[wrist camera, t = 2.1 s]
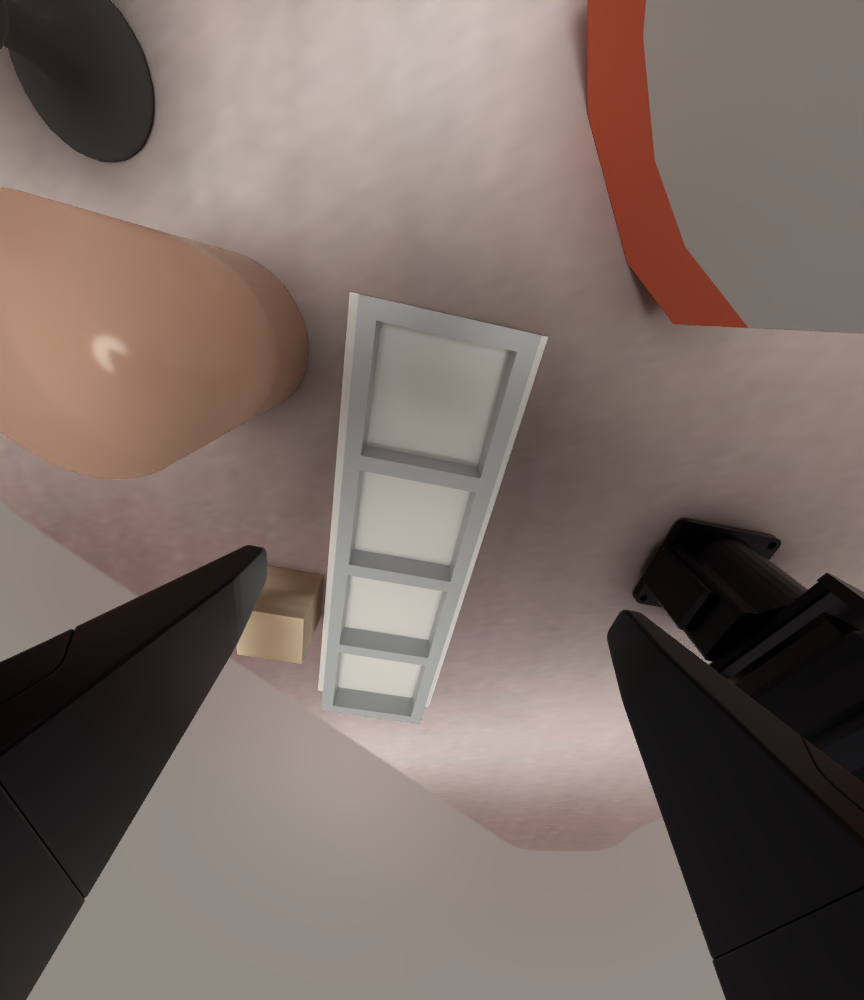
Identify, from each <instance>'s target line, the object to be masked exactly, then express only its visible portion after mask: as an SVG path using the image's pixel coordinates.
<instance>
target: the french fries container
mask: <svg viewBox="0 0 864 1000" xmlns="http://www.w3.org/2000/svg"><path fill="white" fill-rule="evenodd" d="M587 114H588V118H589V121H590V125H591V129H592V133H593V136H594V140H595V144H596V148H597V152H598V155H599V159H600V163H601V167H602V170H603V174H604V178H605V182H606V185H607V189H608V193H609V197H610V200H611V204H612V208H613V212H614V215H615V219H616V223H617V227H618V230H619V234H620V238H621V242H622V246H623V249H624V253H625V257H626V261H627V263H628V264H629V266H630V267H631V268H632V270H633V271H634V272H635V274H636V275H637V276H638V278H639V279H640V280H641V282H642V283H643V284H644V286H645V287H646V288H647V290H648V291H649V292H650V293H651V295H652V296H653V297H654V299H655V300H656V301H657V303H658V304H659V305H660V307H661V308H662V309H663V311H664V312H665V313H666V315H667V316H668V317H669V319H670V320H671V321H672V323H673V324H682V325H702V326H722V327H742V328H763V329H783V330H803V331H824V332H844V333H864V0H588V63H587Z"/></svg>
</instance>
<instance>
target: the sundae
mask: <svg viewBox="0 0 864 1000" xmlns="http://www.w3.org/2000/svg"><path fill="white" fill-rule="evenodd" d="M3 45H4V46H5V47H7V48H9V51H10V57H11V59H12V62H13V65H14V67H15V70H16V73H17V76H18V78H19V80H20V82H21V84H22V86H23V88H24V90H25V92H26V94H27V96H28V98H29V99H30V101H31V102H32V104H33V106H34V107H35V109H36V110H37V112H38V113H39V115H40V116H41V117H42V119H43V120H44V121H45V123H46V124H47V125H48V127H49V128H50V129H51V130H52V131H53V132H54V133H55V134H57V135H58V136H59V137H60V138H61V139H62V140H63V141H64V142H65V143H67V144H68V145H69V146H70V147H72V148H73V149H74V150H76V151H78V152H80V153H82V154H84V155H86V156H88V157H90V158H93V159H96V160H99V161H104V162H115V161H122V160H126V159H127V158H129V157H130V156H132V155H134V154H135V153H136V152H137V151H138V150H139V149H140V148H141V147H142V146H143V144H144V142H145V140H146V138H147V136H148V134H149V130H150V127H151V124H152V120H153V90H152V84H151V80H150V76H149V71H148V68H147V65H146V61H145V58H144V55H143V52H142V49H141V47H140V45H139V43H138V41H137V40H136V38H135V36H134V34H133V32H132V30H131V28H130V27H129V25H128V23H127V22H126V20H125V19H124V17H123V15H122V14H121V12H120V11H119V10H118V9H117V8H116V7H115V5H114V4H113V3H112V2H111V1H110V0H0V49H1V48H2V47H3Z"/></svg>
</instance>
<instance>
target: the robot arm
mask: <svg viewBox="0 0 864 1000" xmlns="http://www.w3.org/2000/svg"><path fill="white" fill-rule="evenodd" d="M686 526H687V527H686ZM684 527H686V528H685V529H684ZM780 545H781V541H780V540H779V539H778V538H776V537H775V536H773V535H768V534H763V533H758V532H753V531H748V530H743V529H738V528H732V527H727V526H722V525H717V524H712V523H707V522H702V521H696V520H691V519H682V520H680V521H678V522H677V523H676V525H675V526H674V528H673V530H672V531H671V533H670V534H669V536H668V538H667V539H666V541H665V542H664V544H663V546H662V547H661V549H660V551H659V552H658V554H657V555H656V557H655V559H654V560H653V562H652V564H651V565H650V567H649V568H648V570H647V572H646V573H645V575H644V577H643V578H642V580H641V581H640V583H639V585H638V586H637V588H636V590H635V591H634V593H633V597H634V598H635V600H636V601H637V602H638V603H641V604H647V605H653V606H659V607H663V608H664V610H665V611H666V612H667V614H668V615H669V616H670V618H671V619H672V620H673V622H674V623H675V624H676V626H677V627H678V628H679V629H680V630H683V631H684V632H685V633H686V635H687V636H688V637H689V639H690V640H691V641H692V643H693V644H694V645H695V647H696V648H697V649H698V651H699V652H700V653H701V654H702V656H703V657H704V658H705V660H708V661H713V662H711V663H710V664H709V665H708V664H707V663H705V662H704V661H703V660H701V659H700V658H699V657H697V656H696V655H695V654H694V653H692V652H691V651H690V650H688V649H687V648H686V647H684V646H683V645H682V644H681V643H679V642H678V641H677V640H675V639H674V638H673V637H671V636H670V635H669V634H668V633H666V632H665V631H664V630H662V629H661V628H660V627H658V626H657V625H656V624H655V623H653V622H652V621H651V620H649V619H648V618H647V617H645V616H644V615H643V614H641V613H639V612H636V611H630V610H623V611H621V612H620V613H619V614H618V616H617V618H616V619H615V621H614V623H613V624H612V626H611V627H610V629H609V631H608V634H607V641H608V645H609V650H610V654H611V658H612V662H613V666H614V670H615V674H616V678H617V682H618V686H619V690H620V694H621V698H622V701H623V704H624V707H625V710H626V713H627V716H628V719H629V722H630V725H631V728H632V730H633V733H634V736H635V739H636V742H637V745H638V748H639V751H640V753H641V756H642V759H643V762H644V765H645V768H646V771H647V774H648V776H649V779H650V782H651V785H652V788H653V791H654V794H655V797H656V799H657V802H658V805H659V808H660V811H661V814H662V817H663V820H664V822H665V825H666V828H667V831H668V834H669V837H670V840H671V842H672V845H673V848H674V851H675V854H676V857H677V860H678V863H679V866H680V868H681V871H682V874H683V877H684V880H685V883H686V886H687V888H688V891H689V894H690V897H691V900H692V903H693V906H694V909H695V912H696V914H697V917H698V920H699V923H700V926H701V929H702V931H703V935H704V937H705V940H706V943H707V946H708V949H709V952H710V955H711V957H712V958H713V964H714V967H715V970H716V973H717V976H718V979H719V981H720V984H721V987H722V990H723V993H724V995H725V999H726V1000H864V592H862V591H861V590H859V589H857V588H855V587H853V586H851V585H850V584H848V583H846V582H844V581H842V580H840V579H839V578H837V577H835V576H833V575H831V574H829V573H826V574H824V575H823V576H822V577H820V578H819V579H818V580H817V581H818V583H816V584H815V585H814V586H812V587H811V588H810V589H807V588H805V587H804V586H803V585H801V584H800V583H799V582H797V581H796V580H795V579H793V578H792V577H791V576H789V575H788V574H787V573H785V572H784V571H783V570H782V569H780V568H779V567H778V566H776V565H775V564H774V563H772V562H771V561H770V560H769V559H770V558H771V557H772V556H773V554H774V553H775V552H776V551H777V549H778V548H779V547H780ZM266 578H267V553H266V550H265V549H264V548H263V547H257V546H252V545H247V546H244V547H242V548H240V549H238V550H236V551H234V552H231V553H229V554H227V555H225V556H223V557H221V558H219V559H217V560H215V561H213V562H211V563H208V564H206V565H204V566H202V567H200V568H198V569H196V570H194V571H192V572H190V573H188V574H185V575H183V576H181V577H179V578H177V579H175V580H173V581H171V582H169V583H167V584H164V585H162V586H160V587H158V588H156V589H154V590H152V591H150V592H148V593H146V594H144V595H141V596H139V597H137V598H135V599H133V600H131V601H129V602H127V603H125V604H123V605H121V606H118V607H116V608H115V609H112V610H110V611H108V612H106V613H104V614H102V615H100V616H98V617H95V618H93V619H91V620H89V621H87V622H85V623H83V624H81V625H79V626H77V627H76V628H75V630H73V629H70V630H68V631H66V632H64V633H62V634H60V635H57V636H55V637H53V638H51V639H49V640H47V641H45V642H43V643H41V644H38V645H36V646H34V647H32V648H30V649H27V650H25V651H23V652H21V653H19V654H17V655H14V656H12V657H10V658H8V659H6V660H4V661H1V662H0V1000H26V999H27V997H28V996H29V994H30V992H31V991H32V989H33V987H34V986H35V984H36V982H37V981H38V979H39V977H40V976H41V974H42V972H43V970H44V969H45V967H46V965H47V964H48V962H49V960H50V959H51V957H52V955H53V954H54V952H55V950H56V949H57V947H58V945H59V944H60V942H61V940H62V939H63V937H64V935H65V933H66V932H67V930H68V928H69V927H70V925H71V923H72V922H73V920H74V918H75V916H76V915H77V913H78V912H79V910H80V908H81V907H82V905H83V903H84V901H85V899H84V898H85V897H87V896H88V894H89V893H90V891H91V889H92V887H93V886H94V884H95V882H96V881H97V879H98V877H99V876H100V874H101V872H102V870H103V869H104V867H105V865H106V864H107V862H108V861H109V859H110V857H111V856H112V854H113V852H114V851H115V849H116V847H117V845H118V843H119V842H120V840H121V839H122V837H123V835H124V834H125V832H126V830H127V829H128V827H129V825H130V824H131V822H132V820H133V819H134V817H135V815H136V814H137V812H138V810H139V808H140V807H141V805H142V803H143V802H144V800H145V798H146V797H147V795H148V793H149V792H150V790H151V788H152V786H153V785H154V783H155V782H156V780H157V778H158V777H159V775H160V773H161V772H162V770H163V768H164V767H165V765H166V763H167V762H168V760H169V758H170V756H171V755H172V753H173V751H174V750H175V748H176V746H177V745H178V743H179V741H180V740H181V738H182V736H183V735H184V733H185V731H186V730H187V728H188V726H189V725H190V723H191V721H192V719H193V718H194V716H195V714H196V713H197V711H198V709H199V708H200V706H201V704H202V703H203V701H204V699H205V698H206V696H207V694H208V693H209V691H210V689H211V688H212V686H213V684H214V682H215V681H216V679H217V678H218V676H219V674H220V672H221V670H222V669H223V667H224V665H225V664H226V662H227V661H228V659H229V657H230V656H231V654H232V652H233V651H234V649H235V647H236V645H237V643H238V642H239V640H240V637H241V635H242V633H243V631H244V629H245V627H246V625H247V622H248V620H249V618H250V616H251V614H252V611H253V609H254V607H255V605H256V603H257V600H258V598H259V596H260V594H261V592H262V589H263V587H264V585H265V582H266ZM642 595H643V596H642Z"/></svg>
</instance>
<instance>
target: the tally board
mask: <svg viewBox="0 0 864 1000" xmlns="http://www.w3.org/2000/svg"><path fill="white" fill-rule="evenodd" d="M547 339H548V337H546V336H542V335H537V334H533V333H529V332H524V331H520V330H515V329H511V328H507V327H502V326H498V325H493V324H489V323H485V322H480V321H476V320H471V319H467V318H463V317H458V316H454V315H449V314H445V313H441V312H436V311H432V310H428V309H423V308H419V307H414V306H410V305H406V304H401V303H397V302H392V301H388V300H384V299H379V298H375V297H370V296H366V295H362V294H357V293H353V292H350V294H349V307H348V320H347V332H346V345H345V357H344V370H343V383H342V395H341V408H340V420H339V433H338V446H337V458H336V471H335V483H334V496H333V509H332V521H331V534H330V547H329V559H328V572H327V584H326V597H325V610H324V622H323V635H322V647H321V660H320V673H319V685H318V691H323V697H322V708H321V711H328V712H335V713H343V714H350V715H357V716H364V717H371V718H378V719H385V720H392V721H400V722H407V723H414V724H420V721H421V718H422V714H423V711H424V708H425V706H428V707H429V705H430V701H431V698H432V695H433V692H434V689H435V686H436V683H437V680H438V677H439V674H440V670H441V667H442V664H443V661H444V658H445V655H446V652H447V649H448V646H449V643H450V640H451V636H452V633H453V630H454V627H455V624H456V621H457V618H458V615H459V612H460V609H461V605H462V602H463V599H464V596H465V593H466V590H467V587H468V584H469V581H470V578H471V575H472V571H473V568H474V565H475V562H476V559H477V556H478V553H479V550H480V547H481V544H482V540H483V537H484V534H485V531H486V528H487V525H488V522H489V519H490V516H491V513H492V510H493V506H494V503H495V500H496V497H497V494H498V491H499V488H500V485H501V482H502V479H503V475H504V472H505V469H506V466H507V463H508V460H509V457H510V454H511V451H512V448H513V445H514V441H515V438H516V435H517V432H518V429H519V426H520V423H521V420H522V417H523V414H524V410H525V407H526V404H527V401H528V398H529V395H530V392H531V389H532V386H533V383H534V379H535V376H536V373H537V370H538V367H539V364H540V361H541V358H542V355H543V352H544V349H545V345H546V342H547Z"/></svg>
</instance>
